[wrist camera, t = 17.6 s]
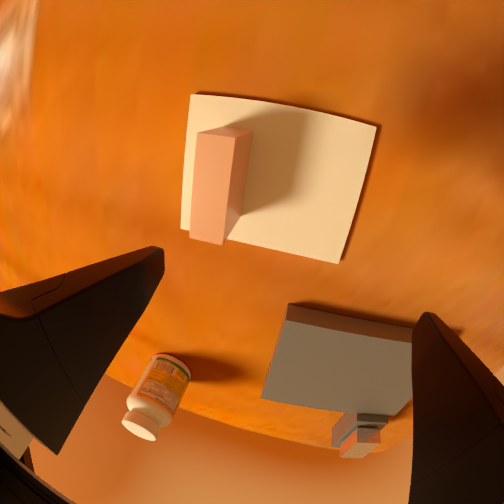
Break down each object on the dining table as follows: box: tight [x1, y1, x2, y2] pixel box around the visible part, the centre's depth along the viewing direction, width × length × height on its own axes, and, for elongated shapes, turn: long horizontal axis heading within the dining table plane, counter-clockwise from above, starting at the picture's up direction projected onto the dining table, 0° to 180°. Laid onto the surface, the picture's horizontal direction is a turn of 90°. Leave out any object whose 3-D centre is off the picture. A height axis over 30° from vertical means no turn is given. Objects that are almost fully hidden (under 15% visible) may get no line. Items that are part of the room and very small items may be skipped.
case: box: [261, 304, 413, 448], centre depth 26 cm, size 16×20×3 cm
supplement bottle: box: [122, 354, 191, 441], centre depth 27 cm, size 5×5×10 cm
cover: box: [181, 94, 377, 264], centre depth 17 cm, size 12×10×6 cm
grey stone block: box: [340, 428, 381, 458], centre depth 26 cm, size 3×5×2 cm, turn 171°
